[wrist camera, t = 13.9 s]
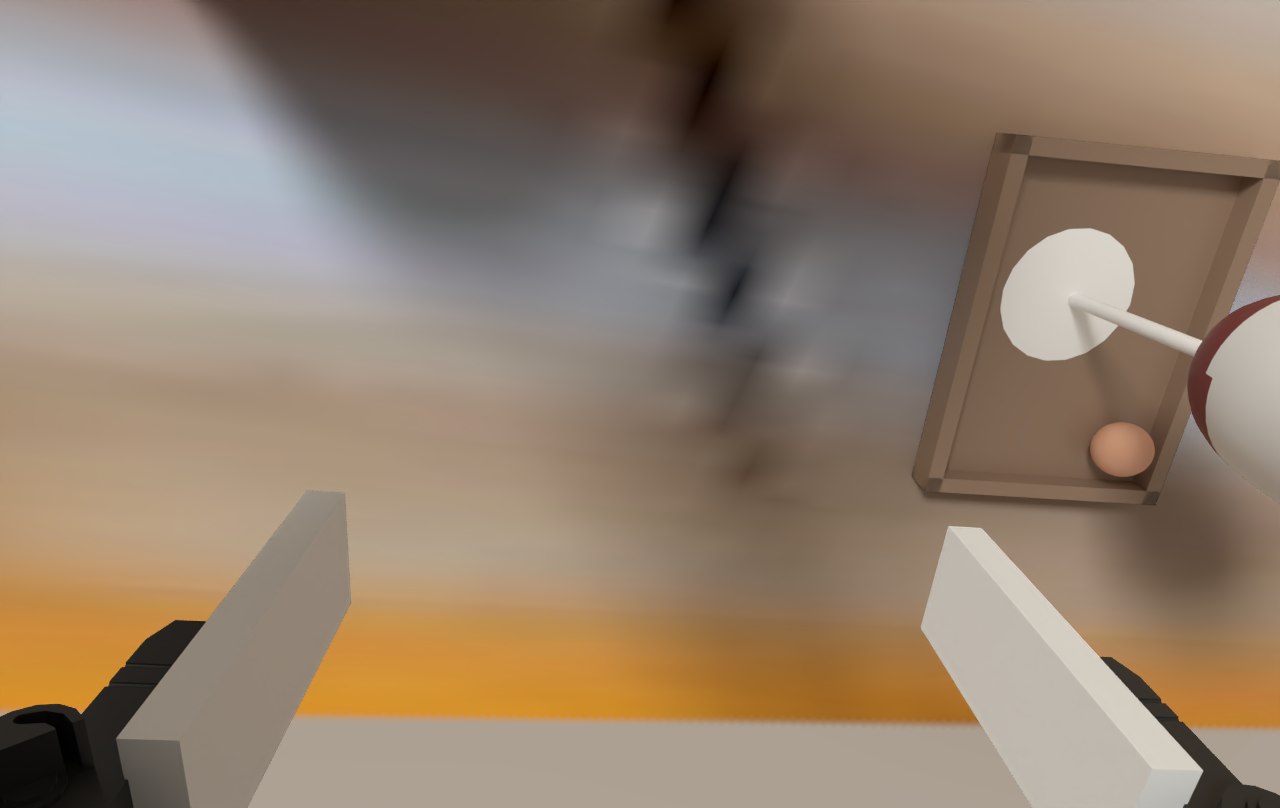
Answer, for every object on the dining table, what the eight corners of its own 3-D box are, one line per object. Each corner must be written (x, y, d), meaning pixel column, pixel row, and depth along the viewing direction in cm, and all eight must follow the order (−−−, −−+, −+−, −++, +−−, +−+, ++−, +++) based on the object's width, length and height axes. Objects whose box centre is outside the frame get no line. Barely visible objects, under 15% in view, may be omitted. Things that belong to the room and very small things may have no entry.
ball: (1087, 412, 49) (1122, 433, 46) (1138, 415, 49) (1176, 437, 46) (1071, 460, 50) (1104, 484, 47) (1121, 463, 50) (1156, 487, 47)
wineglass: (1082, 187, 44) (1510, 255, 23) (1168, 297, 46) (1619, 445, 26) (964, 296, 46) (1261, 447, 25) (1053, 395, 48) (1387, 604, 28)
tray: (996, 133, 43) (1016, 134, 41) (1255, 159, 44) (1286, 161, 42) (911, 476, 51) (924, 491, 49) (1133, 489, 52) (1155, 505, 50)
